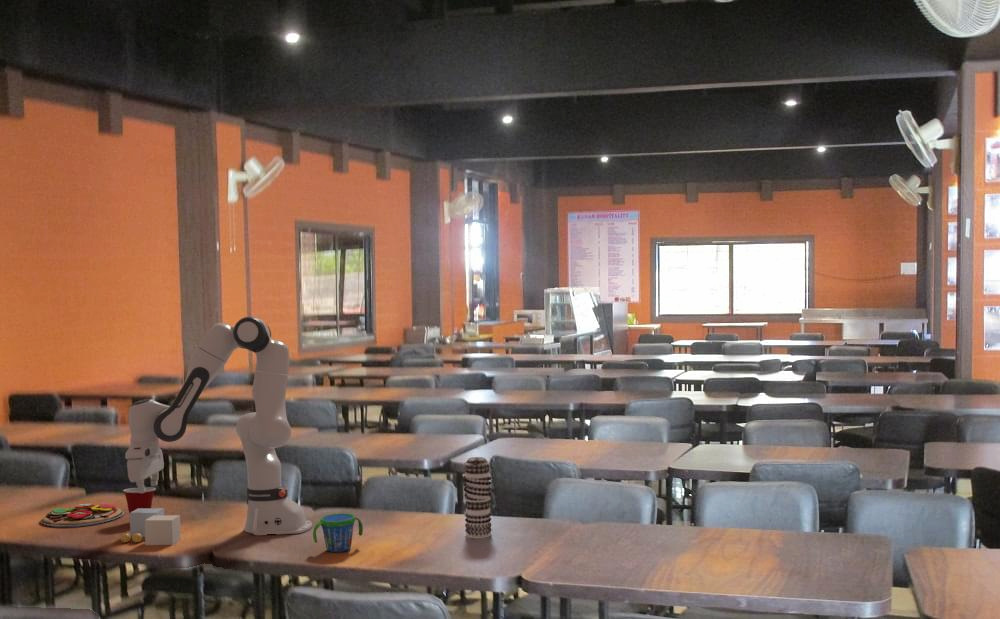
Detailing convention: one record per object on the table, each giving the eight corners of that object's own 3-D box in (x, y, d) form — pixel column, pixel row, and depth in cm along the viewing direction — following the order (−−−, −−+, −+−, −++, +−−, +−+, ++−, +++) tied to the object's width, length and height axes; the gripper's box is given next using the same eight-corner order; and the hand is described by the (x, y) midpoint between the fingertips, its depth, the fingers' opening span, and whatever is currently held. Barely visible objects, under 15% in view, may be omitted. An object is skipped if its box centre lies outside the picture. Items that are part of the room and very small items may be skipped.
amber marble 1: (132, 541, 318) (132, 532, 318) (128, 543, 315) (128, 534, 315) (123, 541, 318) (123, 532, 318) (119, 543, 315) (119, 534, 315)
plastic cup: (162, 518, 349) (161, 484, 348) (148, 525, 338) (147, 491, 338) (133, 518, 350) (132, 484, 350) (118, 525, 339) (117, 491, 339)
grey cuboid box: (180, 539, 319) (179, 515, 318) (172, 545, 312) (172, 520, 312) (153, 539, 319) (153, 515, 319) (145, 545, 313) (144, 520, 313)
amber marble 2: (143, 541, 318) (143, 532, 318) (139, 543, 315) (139, 534, 315) (134, 541, 318) (134, 532, 318) (130, 543, 315) (130, 534, 315)
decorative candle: (474, 540, 311) (472, 462, 310) (459, 534, 318) (457, 457, 318) (498, 535, 316) (496, 458, 315) (482, 529, 323) (481, 454, 323)
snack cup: (317, 557, 295) (316, 523, 295) (309, 548, 305) (308, 516, 304) (367, 550, 301) (367, 517, 301) (358, 542, 311) (357, 510, 310)
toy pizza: (78, 532, 333) (78, 519, 333) (22, 525, 345) (22, 512, 345) (140, 514, 358) (140, 502, 358) (86, 507, 370) (86, 496, 370)
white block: (164, 531, 329) (164, 508, 329) (156, 536, 323) (156, 512, 323) (138, 532, 330) (138, 508, 330) (130, 537, 324) (129, 512, 323)
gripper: (149, 442, 336) (152, 482, 337) (122, 455, 315) (126, 497, 316) (166, 441, 335) (170, 481, 336) (141, 454, 315) (145, 496, 316)
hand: (148, 489), depth 326 cm, fingers open, 8 cm apart
